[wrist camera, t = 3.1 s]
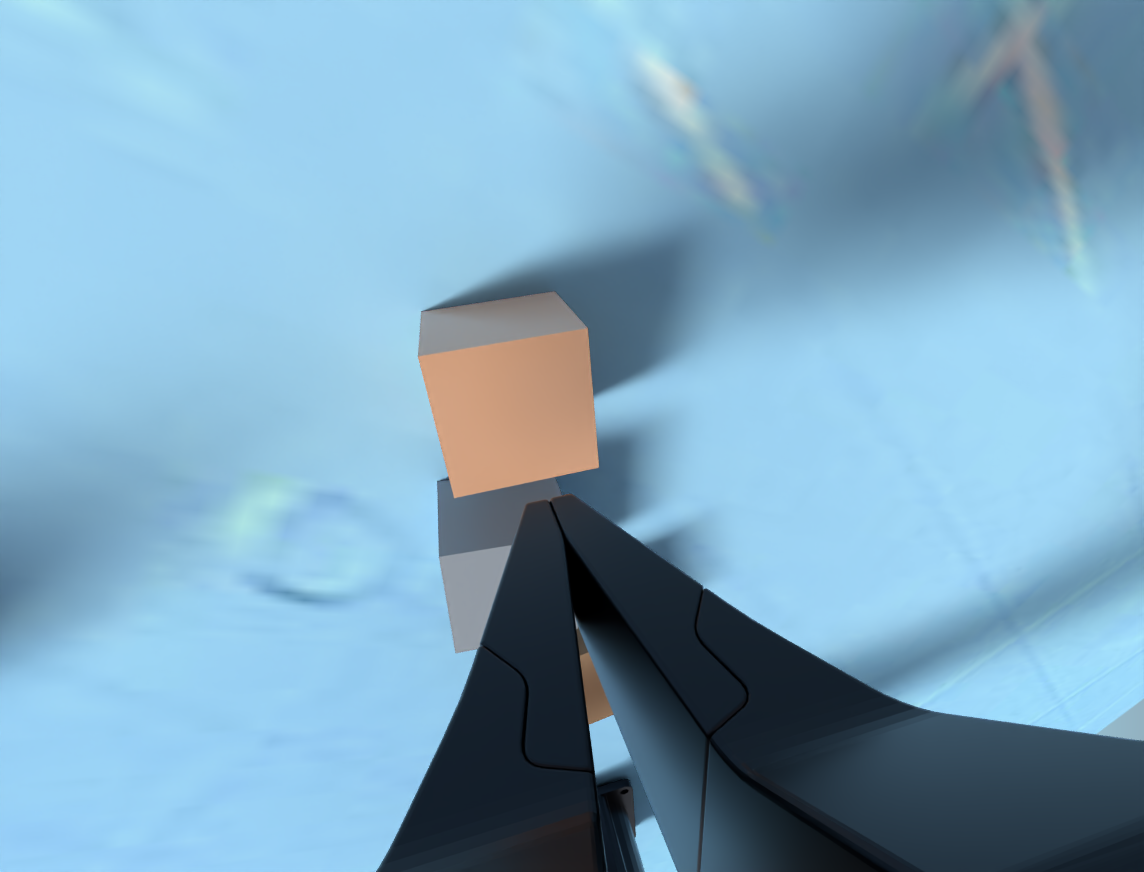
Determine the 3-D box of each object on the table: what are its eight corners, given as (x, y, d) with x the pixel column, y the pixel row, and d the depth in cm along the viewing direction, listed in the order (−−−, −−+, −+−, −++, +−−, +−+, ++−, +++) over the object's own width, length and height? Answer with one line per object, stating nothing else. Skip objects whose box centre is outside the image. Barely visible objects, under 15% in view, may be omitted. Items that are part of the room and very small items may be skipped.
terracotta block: (567, 407, 18) (599, 467, 14) (450, 429, 17) (454, 498, 14) (554, 290, 16) (587, 328, 12) (421, 310, 15) (417, 356, 12)
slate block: (553, 550, 21) (578, 628, 17) (450, 567, 20) (455, 653, 16) (550, 464, 19) (577, 534, 15) (437, 480, 18) (438, 556, 15)
